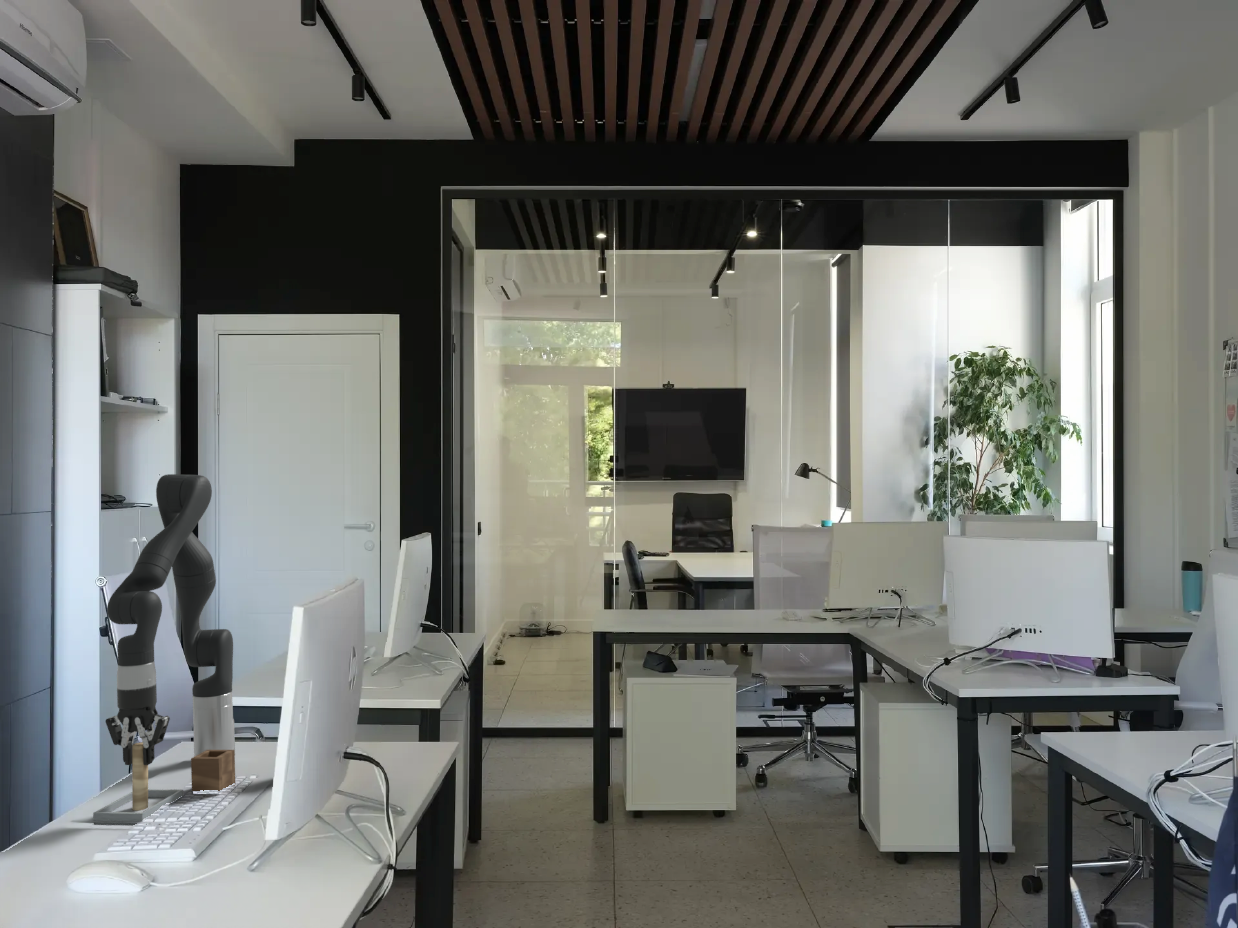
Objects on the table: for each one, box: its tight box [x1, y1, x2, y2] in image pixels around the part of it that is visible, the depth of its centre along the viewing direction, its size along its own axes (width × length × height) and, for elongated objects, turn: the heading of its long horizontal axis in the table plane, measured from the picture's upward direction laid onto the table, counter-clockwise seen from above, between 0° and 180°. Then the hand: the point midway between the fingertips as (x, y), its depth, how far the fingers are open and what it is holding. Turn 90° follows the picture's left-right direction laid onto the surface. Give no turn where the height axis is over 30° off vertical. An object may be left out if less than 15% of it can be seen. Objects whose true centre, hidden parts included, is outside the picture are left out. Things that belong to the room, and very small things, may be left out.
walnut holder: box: [190, 749, 236, 792], centre depth 209 cm, size 7×7×9 cm
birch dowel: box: [131, 742, 149, 812], centre depth 199 cm, size 3×3×14 cm
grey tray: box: [92, 788, 184, 827], centre depth 199 cm, size 14×11×2 cm
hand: (138, 763), depth 199 cm, fingers open, 3 cm apart
